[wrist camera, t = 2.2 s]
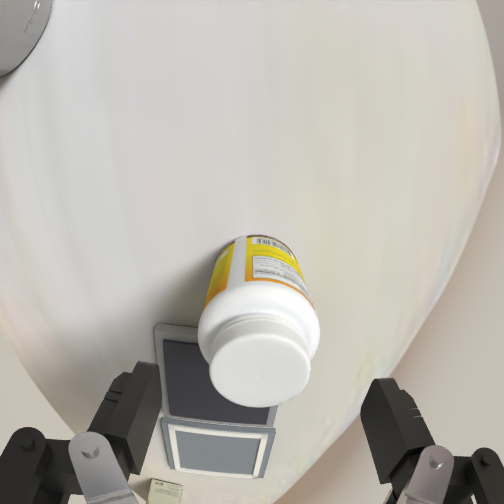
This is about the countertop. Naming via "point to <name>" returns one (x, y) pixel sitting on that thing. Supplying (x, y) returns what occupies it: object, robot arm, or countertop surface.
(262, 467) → the grey square pad
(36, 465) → the robot arm
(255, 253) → the supplement bottle
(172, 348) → the ink pad
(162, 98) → the countertop surface
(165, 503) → the skincare box
